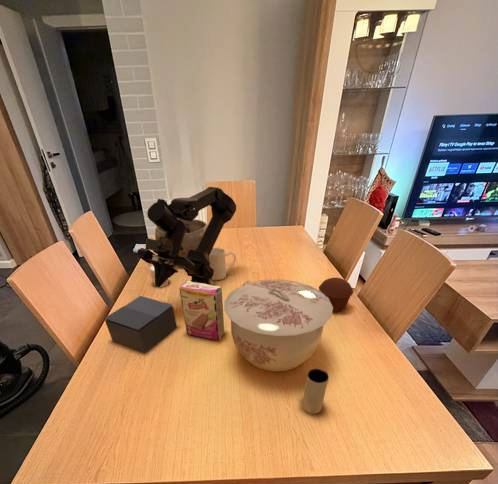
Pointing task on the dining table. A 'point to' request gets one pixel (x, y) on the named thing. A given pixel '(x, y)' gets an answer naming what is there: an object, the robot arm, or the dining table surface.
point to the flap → (148, 306)
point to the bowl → (188, 235)
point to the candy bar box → (203, 310)
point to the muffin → (337, 292)
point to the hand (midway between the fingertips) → (157, 286)
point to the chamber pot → (277, 322)
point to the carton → (139, 328)
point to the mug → (219, 263)
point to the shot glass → (154, 276)
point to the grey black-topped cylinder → (315, 390)
